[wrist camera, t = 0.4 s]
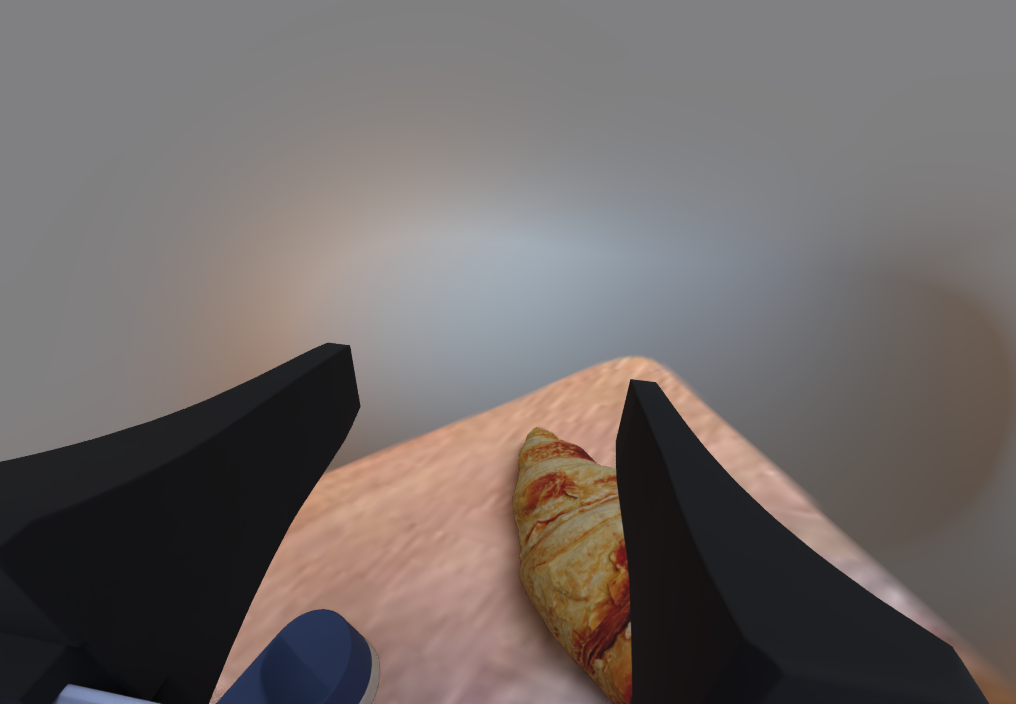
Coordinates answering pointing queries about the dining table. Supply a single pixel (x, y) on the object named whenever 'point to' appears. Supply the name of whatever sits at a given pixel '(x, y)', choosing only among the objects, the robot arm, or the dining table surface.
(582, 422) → the dining table surface
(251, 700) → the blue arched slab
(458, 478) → the dining table surface
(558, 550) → the croissant
